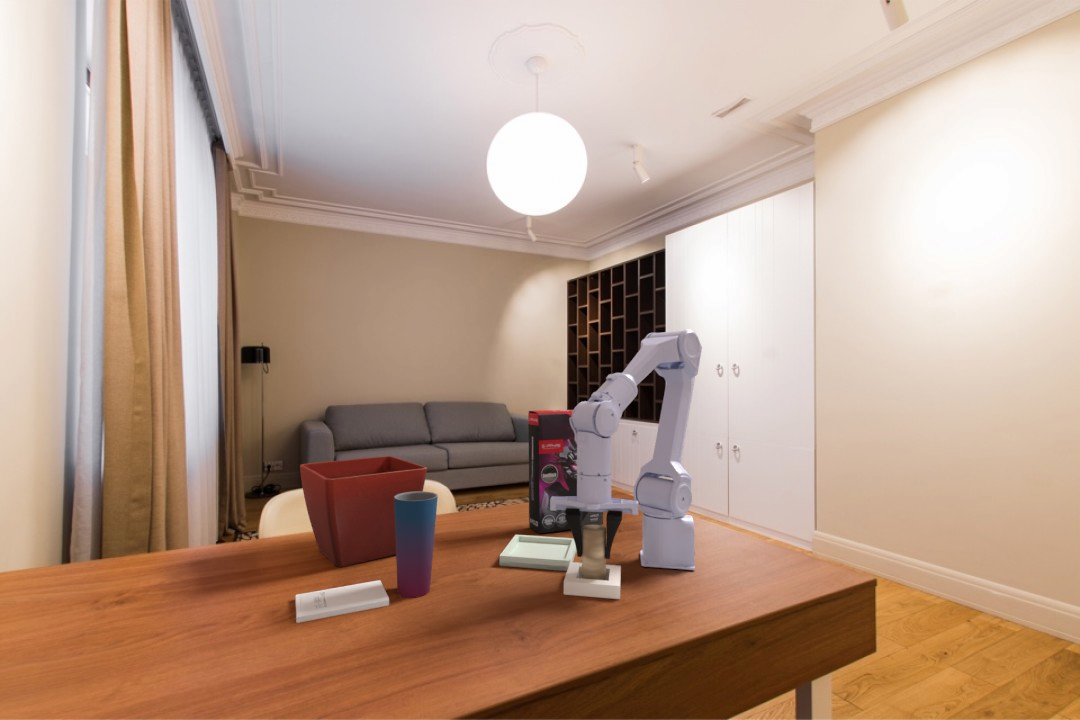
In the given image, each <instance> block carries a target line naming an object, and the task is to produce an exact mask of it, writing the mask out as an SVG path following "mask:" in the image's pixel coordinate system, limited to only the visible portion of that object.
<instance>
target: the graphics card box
mask: <svg viewBox="0 0 1080 720" xmlns="http://www.w3.org/2000/svg"><path fill="white" fill-rule="evenodd" d="M573 410H574V409H557V410H556V409H554V410H553V409H551V410H548V409H546V410H541V409H540V410H528V416H527V417H528V422H527V423H528V518H529V519H528V525H529V528H530V529H532V530H533V531H535V532H537V533H539V534H545V533H546V534H547V533H552V532H560V531H568V530H570V527H569V525H568V523H567V521H566V518H565V515H566V510H556V511H552V510H550V499H551V497H552V496H554V497H565V496H577V444H576V441H575V434H574V431H573V430H572V428H571V425H570V420H569V418H570V417H572V412H573ZM585 525H601V526H603V525H604V512H590V511H582V527H583V526H585Z"/></svg>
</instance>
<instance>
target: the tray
mask: <svg viewBox="0 0 1080 720" xmlns="http://www.w3.org/2000/svg"><path fill="white" fill-rule="evenodd" d="M576 555H577V550H576V545H575V541H574V538H571V537H559V536H557V537H556V536H541V535H528V534H527V535H526V534H514V536H513V537H512V538H511V540H510V541H509V543H508V544H507V545H506V547H504V549H503V551H502V552H501V553H500V554H499V561H498V562H499V567H511V568H512V567H513V568H523V569H524V568H525V569H526V568H527V569H537V570H538V569H539V570H550V571H552V570H553V571H561V572H562V571H564V572H567V570H568V567H569V564H570V562H575V561H574V560H575V557H576Z"/></svg>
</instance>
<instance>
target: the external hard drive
mask: <svg viewBox="0 0 1080 720" xmlns="http://www.w3.org/2000/svg"><path fill="white" fill-rule="evenodd" d="M294 599H295V600H294V602H295V603H294V604H295V621H296V624H297V623H298V624H299V623H304V622H308V621H315V620H319V619H324V618H330V617H336V616H340V615H346V614H351V613H357V612H361V611H367V610H372V609H376V608H377V609H378V608H381V607H387V606H390V597H389V595H388V593H387V592H386V589H385V587H384V585H383V583H382V581H381V580H380V579H379V580H373V581H368V582H360V583H356V584H351V585H345V586H339V587H337V586H336V587H331V588H326V589H322V590H317V591H316V590H315V591H310V592H304V593H298V594H297V593H296V594H295V598H294Z"/></svg>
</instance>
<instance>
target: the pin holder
mask: <svg viewBox="0 0 1080 720" xmlns="http://www.w3.org/2000/svg"><path fill="white" fill-rule="evenodd" d="M621 576H622V566H621V565H616V564H606V579H605V580H594V579H583V578H582V562H576V561H573V562H570V564H569V567H568V570H567V571H566V573H565V576H564V579H563V595H565V596H566V595H567V596H576V597H577V596H579V597H590V598H599V599H601V598H602V599H613V600H621V582H622V581H621V580H622V579H621Z"/></svg>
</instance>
